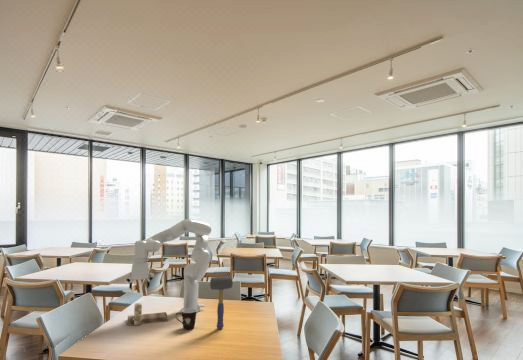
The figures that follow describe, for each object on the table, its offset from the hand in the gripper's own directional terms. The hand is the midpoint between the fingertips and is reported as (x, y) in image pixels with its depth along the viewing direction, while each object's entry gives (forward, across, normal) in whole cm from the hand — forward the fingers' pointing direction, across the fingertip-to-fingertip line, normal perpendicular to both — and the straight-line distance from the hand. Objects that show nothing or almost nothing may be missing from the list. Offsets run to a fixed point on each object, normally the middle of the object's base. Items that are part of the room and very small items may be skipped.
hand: (139, 288), depth 203 cm
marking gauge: (+19, 0, +1) cm, 19 cm away
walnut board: (+20, -6, 0) cm, 20 cm away
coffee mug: (+20, -26, +21) cm, 39 cm away
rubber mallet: (+20, -44, +29) cm, 57 cm away
